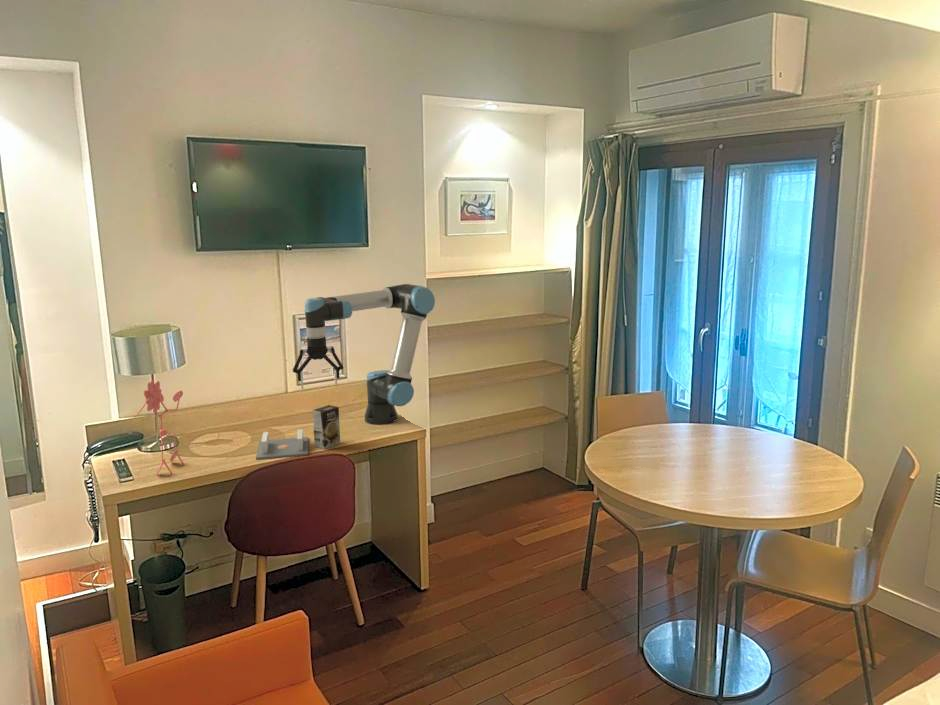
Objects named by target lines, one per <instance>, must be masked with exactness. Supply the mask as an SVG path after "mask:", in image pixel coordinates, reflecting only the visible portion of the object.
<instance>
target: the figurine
mask: <svg viewBox="0 0 940 705" xmlns="http://www.w3.org/2000/svg"><path fill="white" fill-rule="evenodd" d="M143 395H144V398H145V402H144V403H143V404H142V406H141V407H140V408H139V410H138V411H137V412H136V414H135V415H134V418H136V417H137V416H138V415H139V414H140V413H141V412H142V410H143V409H144V408H145V406H147V408H146V410H147V411H148V412H151V411H153V414H156V415H157V417H158V418H159V420H160V430H159V432H158V434H159V435H160V440H161V462H160V464H159V466H158V469H157V470H156V472H155V473H156V474H157V475H158V474H159V473H160V470H161V469H162V467H163V465H165V466H166V468H167V470H168V471H169V473H170V474H171V473H172V474H173V471H172V470H171V469H170V467H169V466H168V464H167V463H166V461H165V459H166V458H165V457H164V446H163V445H164V444H163V442H164V441H163V437H165V436H167V434H169V435H173V440H174V441H173V443H174V451H173V453H172V455H171V456H170V458H169V461H170V462H171V463H173V461H174V460H175V459H176V458H178V459H179V461H180V462H181V464H182V465H185V463H184V461H183V460H182V457H181V456H180V455H179V449H176V433H173V432H168V431H167V430H166V429H165V428H163V418H162V417H163V416H164V415H165V414H166V413H168V412H175V411H178V410H179V409H178V408H179V405H180V400H181V398H182V397H183V395H184V392H183V390H179V391H177V392H176V393H175V394H174V395H173V396H172V400H173V401H174V403H176V402H177V403H176V408H175V409H173V408H172V409H168V408H167V407H166V406H165V404H164V400H165V398H164V395H163V393H162V388H161V382H160V381H159V380H157V381H155V380H153V379H151V380H150V382H147V390H144V391H143ZM161 405H162V406H163V408H164V410H163V412H161V413H160V414H159V412H158V411H159V410H160V409H161ZM189 458H191V457H189Z"/></svg>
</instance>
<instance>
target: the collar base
mask: <svg viewBox="0 0 940 705" xmlns="http://www.w3.org/2000/svg"><path fill="white" fill-rule="evenodd" d="M303 430H304V429H300V428H299V429H297V433H296V434H297V435H296V437H292V438H290V437H289V438H288V437H287V438H280V439H279V438H278V439H270V438H269V436H270V435H269V432H268V431H263V433H262V436H261V440H259V444H258V446H257V453H256V456H255V460H266V459H278V458H289V457H299V456H300V457H301V456H308V455H309V436H304V431H303Z"/></svg>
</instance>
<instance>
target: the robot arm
mask: <svg viewBox="0 0 940 705" xmlns="http://www.w3.org/2000/svg"><path fill="white" fill-rule="evenodd" d="M435 303H436V299H435V295H434V293H433V291H432V290H431V289H430V288H427V287H426V286H424V285H416V284H411V283H404V284H398V285H397V284H396V285H393V286H386V287H383V288H382V289H381V290H380V289H379V290H373V291H365V292H359V293H358V292H357V293H350V294H343V295H337V296H336V295H335V296H328V297H324V296H319V297H315V298H314V297H312V298H311V297H310V298H307V299H306V300H305V302H304V316H305V325H306V326H305V328H306V329H305V330H306V337H307V338H306V344H307V346H306V347H307V348H306V349H304V348H300V349H299V355H298V357H297V359H296V361H295V364H294V366H293V368H292V373H294V374H297V382H300V386H301V387H300V388H301V390H304V378H303V377H304V376H303V370H304V369H305V368H306V367H307V366H308V365H309V363H310V362H311V361H312V360H313V361H315V360H323V359H324V360H325V361H326V362H327V363H328V364H329V365H330V366H331V367H332V368H333V369H334V370H333V374H334V386H335V387H336V388H337V387H338V379H340V371H341V370H344V366H343V364H342V362H341V360H340V358H339V357H338V355H337V354H336V352H335V351H336V350H335V347H334V346H331V347H327V337H326V333H327V332H326V322H329V321H337V320H338V321H339V320H345V319H350V318H351V317H352V315H353V312H358V311H364V310H372V309H377V308H383V307H385V308H386V309H400V310H401V311H400V314H401V315H402V321H401V326H400V330H399V334H398V338H397V341H396V346H395V352H394V354H393V359H392V364H391V367H390V369H389V370H386V369H385V370H384V369H383V370H374V371H371V372H368V373H367V374H366V390H367V392H366V393H367V405H366V410H365V413H364V422H365V423H368V424H371V425H385V424H384V423H387V424H390V423H389V422H391V423H393V422H392V421H394V420H396V419H397V420H398V411H397V409H396V407H404V406H406V405H407V404H408V403H410V402H411V401H412V399H413V397H414V394H415V389H414V387H413V385H412V381H413V377H412V375H411V371H412V367H413V366H412V365H413V362H414V358H415V353H416V348H417V344H418V341H419V335H420V331H421V327H422V322H423V321H426V320H427V316H428V314H429V313H431V311H433V309H434V307H435V305H436V304H435ZM328 352H329V353H330V354H332V356H333V358H334V359H335V362H336V363H337V364H336V363H335V362H334V361H333V360H332V359H331V358H330V357H328V355H327V353H328ZM305 354H307V355H308V356H307V358H306V359H305V360H304V361H303V362H302V364H301V365H300V363H301V361H302V359H303V356H304V355H305ZM299 366H300V367H299ZM395 406H396V407H395ZM397 420H396V421H397ZM394 422H395V421H394Z"/></svg>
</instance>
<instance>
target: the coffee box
mask: <svg viewBox="0 0 940 705" xmlns="http://www.w3.org/2000/svg"><path fill="white" fill-rule="evenodd" d="M312 418H313V419H312V420H313V442H314V447H316V448H318V449H321V450H326V449H330V448H332V447H335V446H337V445H340V444H341V430H340V428H341V427H340V409H339V406H335V405H330V404H328V405H324V406H321V407H318V408H314V409H312Z"/></svg>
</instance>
